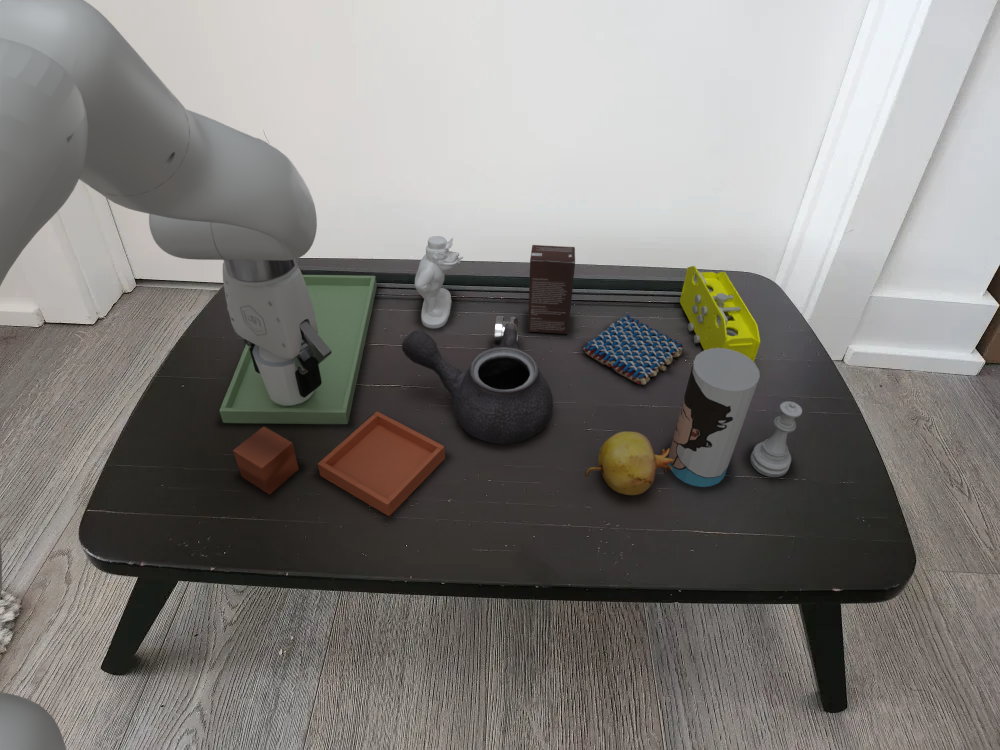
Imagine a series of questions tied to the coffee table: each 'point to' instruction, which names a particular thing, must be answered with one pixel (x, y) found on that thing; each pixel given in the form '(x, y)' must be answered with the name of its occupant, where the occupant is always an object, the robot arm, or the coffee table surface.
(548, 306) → the box
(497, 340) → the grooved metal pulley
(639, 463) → the fruit
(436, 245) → the figurine
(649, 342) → the woven mat
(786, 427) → the chess piece
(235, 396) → the sage tray
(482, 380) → the teapot
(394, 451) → the terracotta tray
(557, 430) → the coffee table surface
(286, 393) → the grey tapered cup
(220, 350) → the coffee table surface
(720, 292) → the yellow toy chassis
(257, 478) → the block
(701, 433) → the grey printed cylindrical canister
